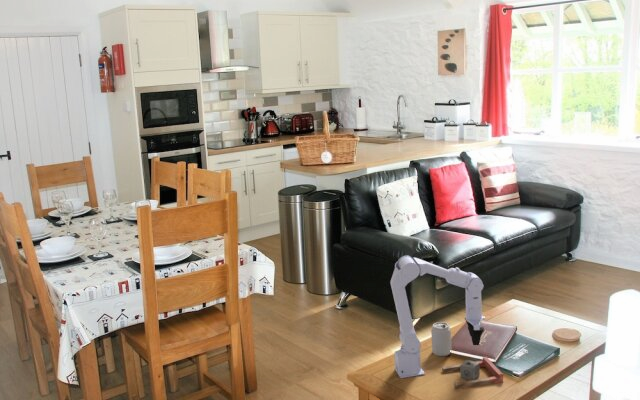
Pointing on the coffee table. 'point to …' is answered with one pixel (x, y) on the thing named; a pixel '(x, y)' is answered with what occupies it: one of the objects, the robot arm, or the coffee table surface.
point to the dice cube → (469, 370)
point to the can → (441, 339)
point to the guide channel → (491, 368)
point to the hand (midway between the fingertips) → (474, 340)
